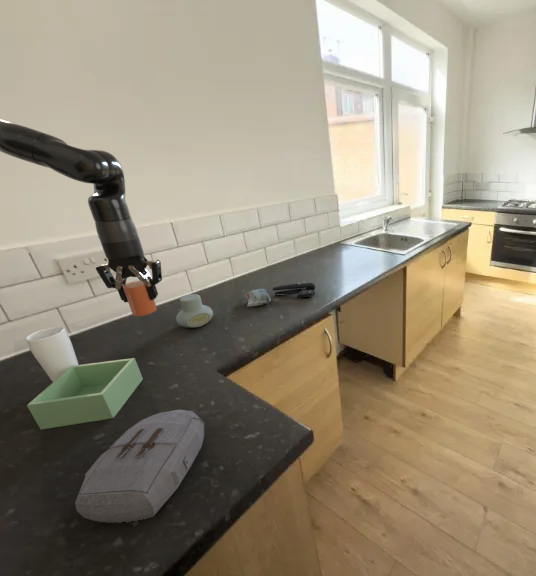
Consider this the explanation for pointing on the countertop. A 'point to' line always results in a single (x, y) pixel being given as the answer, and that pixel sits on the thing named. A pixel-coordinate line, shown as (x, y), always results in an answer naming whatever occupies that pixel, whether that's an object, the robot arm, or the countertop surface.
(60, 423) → the box
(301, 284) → the can opener
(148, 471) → the small grey backpack
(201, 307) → the air freshener
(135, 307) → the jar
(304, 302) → the countertop surface
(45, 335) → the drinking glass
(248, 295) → the packaged food
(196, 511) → the countertop surface
